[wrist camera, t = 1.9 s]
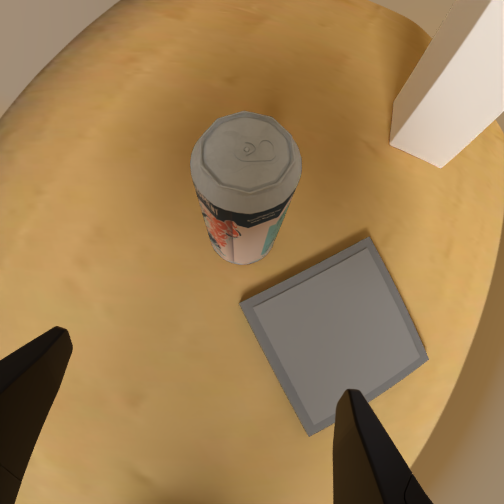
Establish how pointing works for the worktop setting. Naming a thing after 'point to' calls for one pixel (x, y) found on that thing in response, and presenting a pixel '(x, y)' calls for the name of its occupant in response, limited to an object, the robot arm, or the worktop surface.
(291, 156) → the beer can
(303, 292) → the trivet
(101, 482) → the worktop surface
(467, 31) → the milk
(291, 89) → the worktop surface
